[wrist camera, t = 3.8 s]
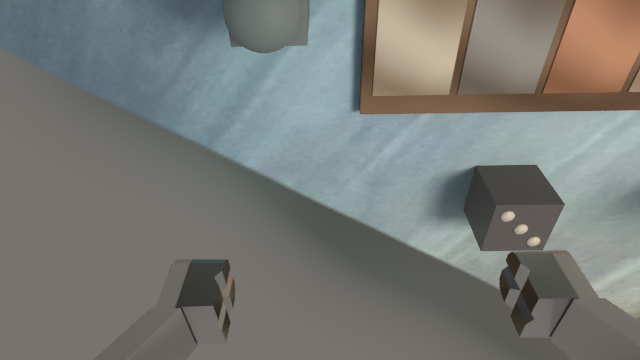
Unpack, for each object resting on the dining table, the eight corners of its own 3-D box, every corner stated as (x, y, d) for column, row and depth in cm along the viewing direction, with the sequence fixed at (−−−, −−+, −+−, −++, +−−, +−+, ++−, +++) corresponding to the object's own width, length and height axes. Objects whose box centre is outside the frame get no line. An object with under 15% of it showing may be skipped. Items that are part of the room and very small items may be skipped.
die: (475, 165, 33) (497, 206, 29) (535, 164, 33) (565, 205, 29) (463, 209, 36) (481, 251, 32) (518, 208, 36) (542, 251, 32)
